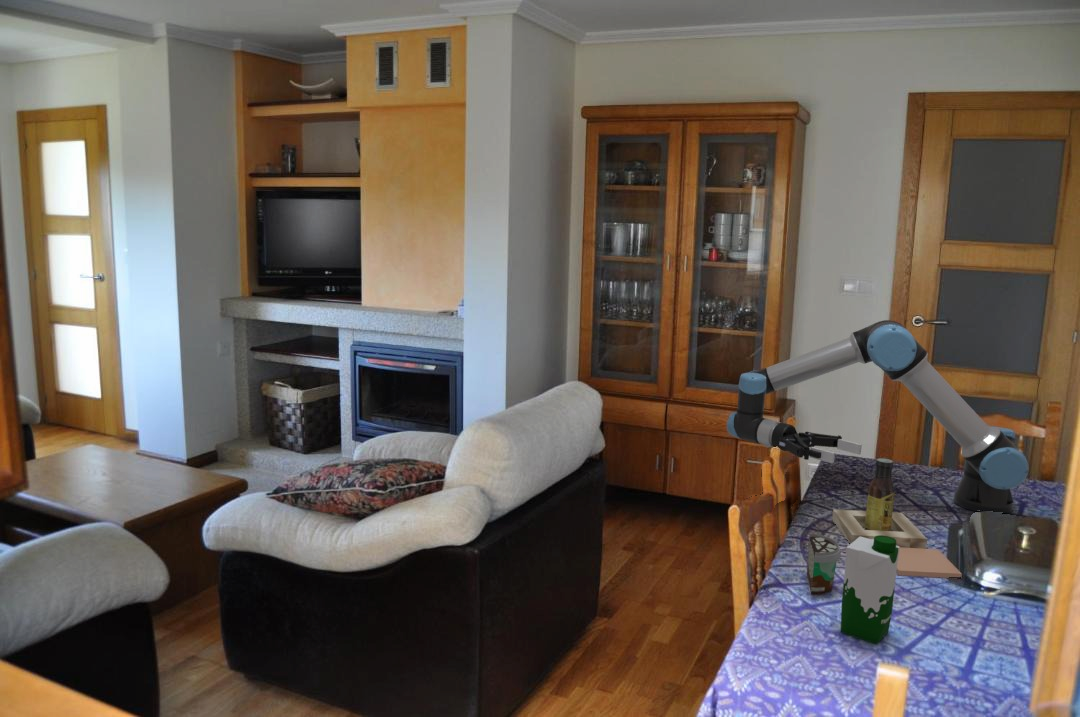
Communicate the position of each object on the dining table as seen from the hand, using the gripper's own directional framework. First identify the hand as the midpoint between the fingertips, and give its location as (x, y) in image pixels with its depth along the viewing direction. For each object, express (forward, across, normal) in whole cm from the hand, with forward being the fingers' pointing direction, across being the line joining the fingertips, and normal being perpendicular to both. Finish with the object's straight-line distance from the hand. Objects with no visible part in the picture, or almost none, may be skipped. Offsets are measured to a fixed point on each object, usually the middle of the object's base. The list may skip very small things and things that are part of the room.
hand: (847, 453), depth 223 cm
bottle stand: (+10, 0, -19) cm, 22 cm away
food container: (+18, +39, -20) cm, 47 cm away
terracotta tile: (+26, +10, -19) cm, 33 cm away
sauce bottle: (+10, 0, -19) cm, 22 cm away
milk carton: (+34, +51, -19) cm, 64 cm away
